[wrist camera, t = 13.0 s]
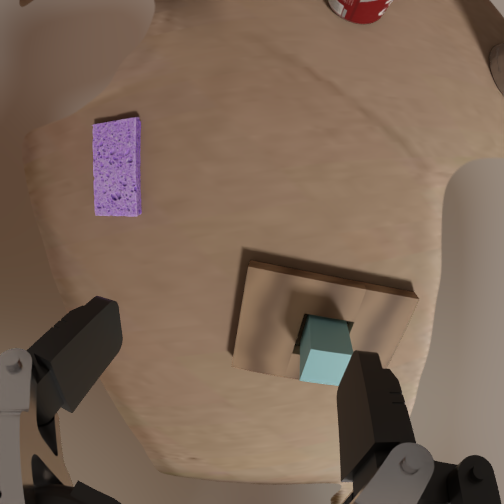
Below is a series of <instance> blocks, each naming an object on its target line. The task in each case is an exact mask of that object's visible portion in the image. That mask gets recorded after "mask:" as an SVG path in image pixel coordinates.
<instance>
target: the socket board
mask: <svg viewBox="0 0 504 504" xmlns="http://www.w3.org/2000/svg"><path fill="white" fill-rule="evenodd" d="M418 301H419V298H418V297H417V295H416V294H415V292H412V291H406V290H401V289H396V288H391V287H385V286H380V285H375V284H370V283H365V282H359V281H354V280H349V279H344V278H339V277H334V276H328V275H323V274H318V273H313V272H308V271H303V270H298V269H293V268H288V267H283V266H278V265H273V264H268V263H263V262H258V261H253V260H250V263H249V266H248V271H247V276H246V282H245V288H244V294H243V300H242V306H241V312H240V318H239V324H238V330H237V336H236V342H235V348H234V354H233V360H232V366H231V367H234V368H239V369H244V370H248V371H253V372H258V373H263V374H269V375H274V376H280V377H286V378H292V379H298V380H299V379H300V346H298V345H295V342H296V339H297V336H298V332H299V329H300V326H301V322H302V319H303V316H304V313H305V314H310V315H316V316H322V317H327V318H333V319H339V320H345V321H349V323H348V331H349V335H350V339H351V344H352V348H353V352H354V351H355V350H358V351H368V352H377V353H378V354H379V357H380V361H381V364H382V367H383V368H384V369H386V368H387V366H388V364H389V362H390V361H391V359H392V357H393V355H394V353H395V351H396V349H397V347H398V345H399V343H400V341H401V339H402V337H403V335H404V333H405V331H406V328H407V326H408V324H409V322H410V320H411V317H412V315H413V313H414V311H415V308H416V306H417V304H418Z"/></svg>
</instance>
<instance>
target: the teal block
mask: <svg viewBox="0 0 504 504" xmlns="http://www.w3.org/2000/svg"><path fill="white" fill-rule="evenodd" d="M352 354H353V348H352V344H351V339H350V335H349V331H348V326H347V322H346V321H345V320H339V319H333V318H327V317H322V316H316V315H310V314H308V316H307V320H306V323H305V326H304V330H303V333H302V336H301V339H300V379H299V381H305V382H312V383H320V384H328V385H336V386H339V384H340V381H341V379H342V377H343V375H344V372H345V370H346V368H347V365H348V363H349V361H350V358H351V356H352Z"/></svg>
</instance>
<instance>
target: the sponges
mask: <svg viewBox="0 0 504 504" xmlns="http://www.w3.org/2000/svg"><path fill="white" fill-rule="evenodd" d="M140 134H141V121H140V120H139V117H133V118H127V119H121V120H116V121H109V122H104V123H98V124H93V158H94V161H93V175H94V178H95V179H94V196H95V197H94V205H95V215H99V216H110V215H113V216H138V215H139V214H141V213H142V211H141V191H140Z"/></svg>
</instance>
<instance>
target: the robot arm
mask: <svg viewBox="0 0 504 504" xmlns="http://www.w3.org/2000/svg"><path fill="white" fill-rule="evenodd" d="M489 61H490V68H491V72H492V75H493V78H494V80H495V83H496V85H497V87H498V88H499V90H500V91H501V93H502V94H503V95H504V43H501V44H498V45H496V46H494V47H493V48H492V50H491V52H490V59H489ZM122 339H123V337H122V329H121V322H120V314H119V307H118V304H117V302H116V301H113V300H110V299H106V298H103V297H100V296H96V297H94V298H93V299H92V300H90V301H89V302H88V303H87V304H86V305H85V306H81V307H78V308H76V309H74V310H72V311H70V312H69V313H68V314H66V315H65V316H64V317H63V318H62V319H61V321H58V322H57V323H56V324H55V325H54V328H53V327H52V328H51V329H50V330H49V331H47V332H46V333H45V334H44V335H43V336H42V337H41V338H40V339H39V340H37V342H35V343H34V344H33V345H32V346H31V347H30V348H29V349H28V350H27V351H26V350H23V349H18V348H16V349H10V350H7V351H5V352H3V353H2V354H1V355H0V504H121V503H119V502H118V501H117V500H115V499H114V498H112V497H110V496H108V495H105V494H103V493H101V492H99V491H97V490H95V489H93V488H91V487H89V486H87V485H85V484H84V483H82V482H80V481H78V482H77V483H76V485H75V487H73V484H72V480H71V478H70V475H69V473H68V471H67V469H66V466H65V463H64V460H63V452H62V446H61V437H60V426H59V417H58V413H57V411H58V410H59V409H60V407H62V408H63V409H65V410H67V411H69V412H71V413H73V412H74V410H75V409H76V407H77V406H78V405H79V403H80V402H81V401H82V399H83V398H84V397H85V395H86V394H87V393H88V391H89V390H90V389H91V387H92V386H93V385H94V383H95V382H96V381H97V379H98V378H99V377H100V375H101V374H102V373H103V372H104V370H105V369H106V368H107V366H108V365H109V364H110V362H111V361H112V360H113V359H114V357H115V356H116V355H117V354H118V352H119V350H120V348H121V345H122ZM337 410H338V425H339V442H340V465H341V482H353V491H352V492H351V493H350V494H349V495H348V496H347V497H346V499H345V500H344V501H343V502H342V503H341V504H501V500H500V495H499V491H498V486H497V482H496V478H495V475H494V471H493V468H492V466H491V464H490V463H489V462H488V461H487V460H486V459H485V458H483V457H481V456H478V455H472V456H468V457H466V458H465V459H464V460H463V461H462V462H461V463H460V464H458V465H455V464H448V463H442V462H438V461H434V460H433V457H432V455H431V454H430V452H429V451H428V450H427V449H426V448H425V447H423V446H421V445H419V444H416V441H415V437H414V433H413V430H412V425H411V422H410V418H409V414H408V411H407V407H406V405H405V400H404V397H403V395H402V390H401V387H400V384H399V381H398V379H397V378H396V377H395V375H394V374H393V373H392V372H391V370H390V369H384V368H383V367H382V364H381V361H380V357H379V354H378V353H377V352H368V351H358V350H355V351H354V352H353V354H352V356H351V358H350V361H349V363H348V365H347V368H346V370H345V372H344V375H343V377H342V379H341V381H340V384H339V387H338V391H337Z"/></svg>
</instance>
